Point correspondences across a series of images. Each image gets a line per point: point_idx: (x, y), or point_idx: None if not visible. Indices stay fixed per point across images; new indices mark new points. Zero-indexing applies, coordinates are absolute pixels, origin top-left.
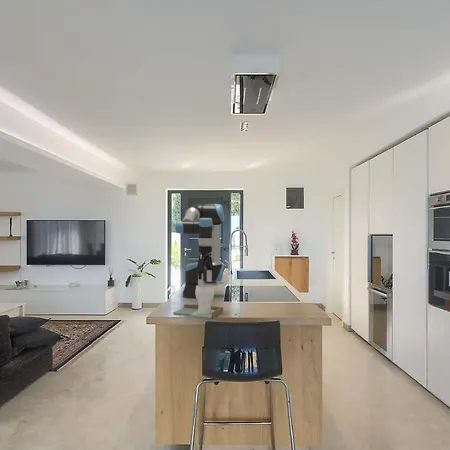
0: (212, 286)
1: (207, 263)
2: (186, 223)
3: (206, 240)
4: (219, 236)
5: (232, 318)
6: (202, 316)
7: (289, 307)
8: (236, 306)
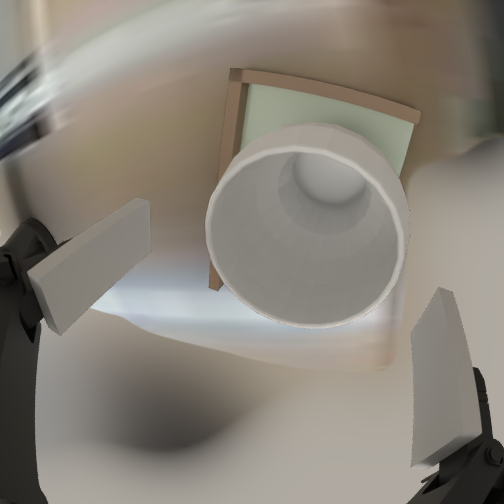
0: (258, 158)
1: (18, 442)
2: None
3: None
4: None
5: (392, 3)
6: (398, 176)
7: None
8: (103, 49)
